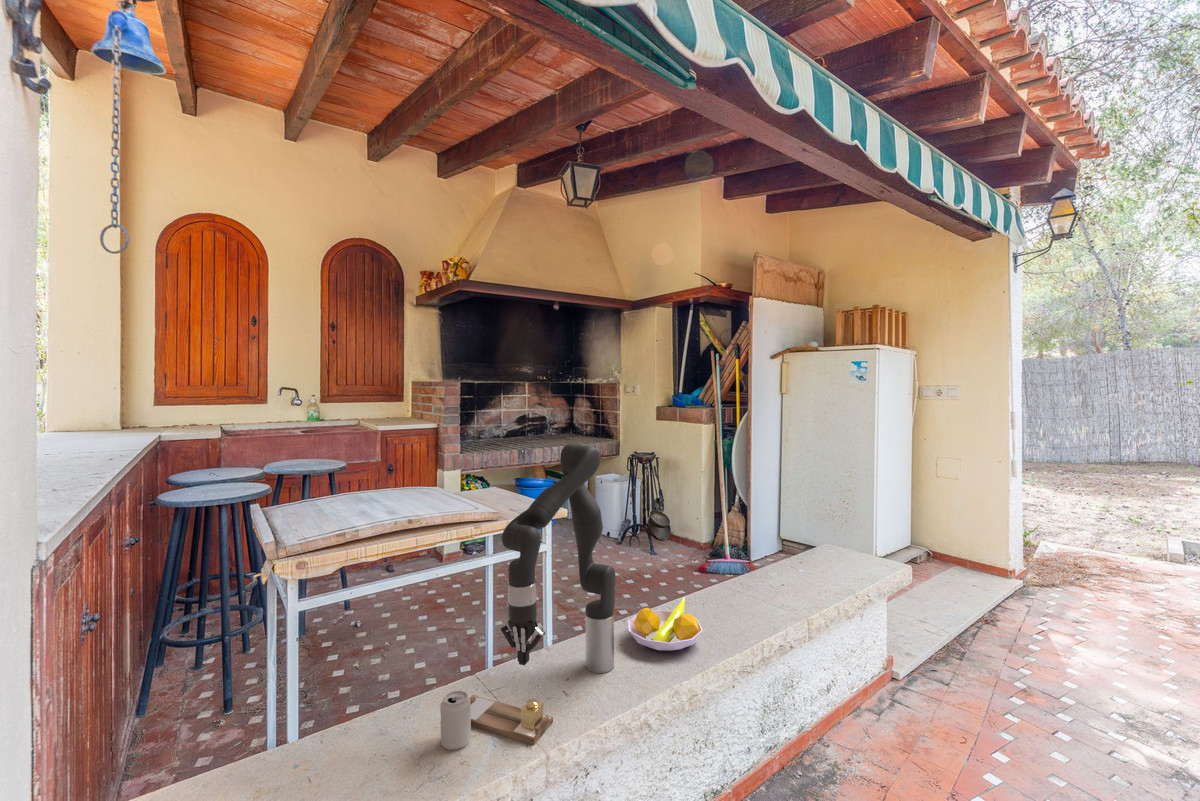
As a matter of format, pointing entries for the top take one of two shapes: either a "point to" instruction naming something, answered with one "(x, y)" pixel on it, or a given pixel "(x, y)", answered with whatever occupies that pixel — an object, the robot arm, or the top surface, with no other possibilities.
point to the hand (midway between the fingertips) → (523, 663)
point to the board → (505, 720)
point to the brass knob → (532, 713)
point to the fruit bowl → (665, 628)
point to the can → (455, 720)
